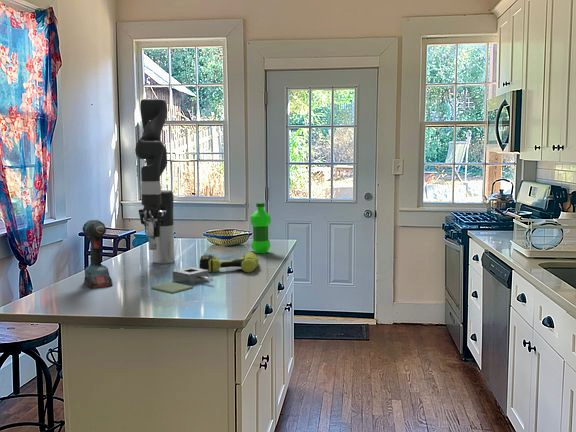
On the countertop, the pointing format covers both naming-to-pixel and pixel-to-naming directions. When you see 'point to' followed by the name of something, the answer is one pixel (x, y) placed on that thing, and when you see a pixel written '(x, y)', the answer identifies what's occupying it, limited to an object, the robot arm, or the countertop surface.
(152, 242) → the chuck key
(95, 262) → the power drill
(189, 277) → the block
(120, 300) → the countertop surface
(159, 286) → the mat
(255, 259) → the cordless drill
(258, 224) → the plastic bottle
